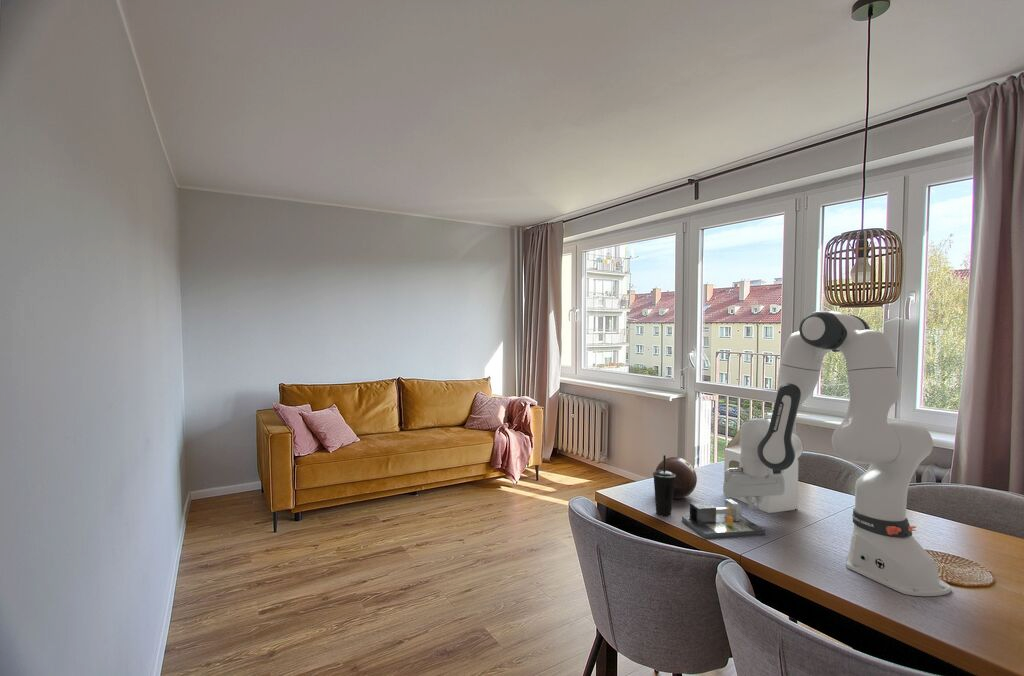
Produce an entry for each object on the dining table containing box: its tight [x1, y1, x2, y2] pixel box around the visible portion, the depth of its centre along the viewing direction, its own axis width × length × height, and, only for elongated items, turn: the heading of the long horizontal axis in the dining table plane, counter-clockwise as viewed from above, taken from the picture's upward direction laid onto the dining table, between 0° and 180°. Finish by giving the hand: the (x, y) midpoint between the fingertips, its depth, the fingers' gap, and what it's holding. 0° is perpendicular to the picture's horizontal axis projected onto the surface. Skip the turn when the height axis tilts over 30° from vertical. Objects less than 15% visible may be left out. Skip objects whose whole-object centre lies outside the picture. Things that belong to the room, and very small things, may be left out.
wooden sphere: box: [655, 456, 698, 500], centre depth 188 cm, size 15×15×15 cm
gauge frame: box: [681, 501, 766, 540], centre depth 160 cm, size 14×20×6 cm
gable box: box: [723, 424, 799, 514], centre depth 185 cm, size 22×13×28 cm, turn 18°
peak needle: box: [726, 505, 733, 526], centre depth 157 cm, size 2×1×6 cm, turn 9°
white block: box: [716, 498, 746, 524], centre depth 162 cm, size 9×10×5 cm
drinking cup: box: [652, 454, 676, 517], centre depth 171 cm, size 8×8×20 cm
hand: (753, 508), depth 165 cm, fingers closed
